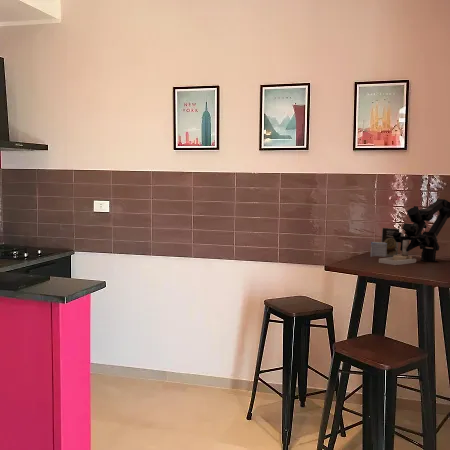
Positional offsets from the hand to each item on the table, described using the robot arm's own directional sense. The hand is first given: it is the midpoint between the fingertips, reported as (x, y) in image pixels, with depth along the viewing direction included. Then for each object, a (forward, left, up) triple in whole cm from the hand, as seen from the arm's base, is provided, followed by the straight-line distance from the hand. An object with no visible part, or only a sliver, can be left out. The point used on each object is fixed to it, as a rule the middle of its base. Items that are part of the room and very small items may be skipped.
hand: (403, 250), depth 270 cm
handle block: (0, 0, -6) cm, 6 cm away
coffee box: (-7, -29, -7) cm, 30 cm away
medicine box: (+3, -22, -7) cm, 23 cm away
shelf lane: (+4, +3, -7) cm, 9 cm away
